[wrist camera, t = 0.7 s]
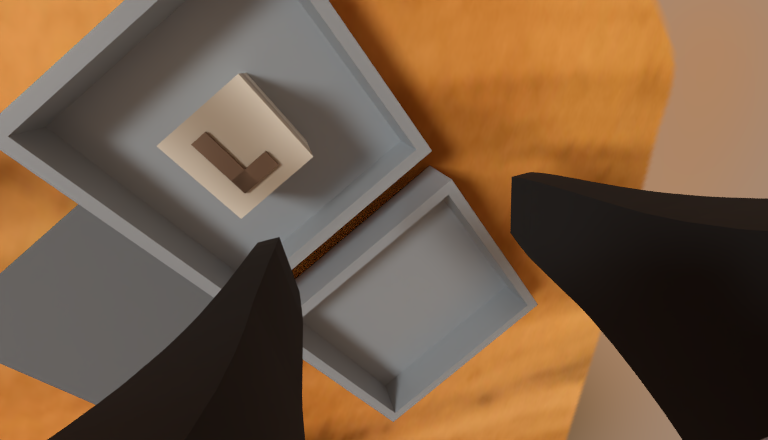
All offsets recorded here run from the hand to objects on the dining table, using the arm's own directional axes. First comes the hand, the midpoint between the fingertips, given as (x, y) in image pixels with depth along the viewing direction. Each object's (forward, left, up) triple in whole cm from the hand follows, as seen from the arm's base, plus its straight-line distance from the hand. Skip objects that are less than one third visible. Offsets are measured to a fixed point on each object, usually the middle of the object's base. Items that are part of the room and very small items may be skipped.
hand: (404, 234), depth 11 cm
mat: (-15, +2, -10) cm, 19 cm away
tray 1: (-3, +4, -10) cm, 11 cm away
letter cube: (-3, +4, -10) cm, 11 cm away
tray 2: (-3, -10, -10) cm, 14 cm away
